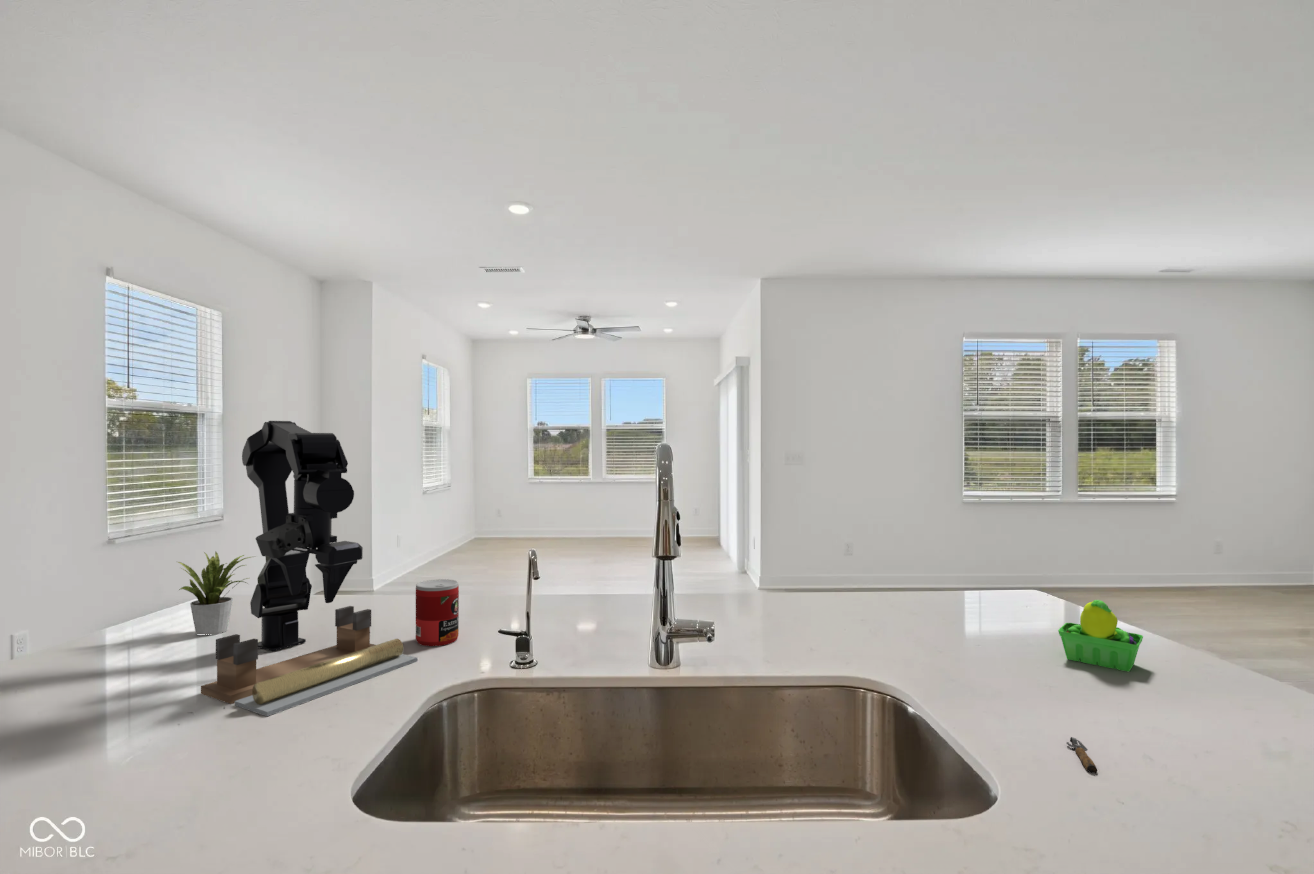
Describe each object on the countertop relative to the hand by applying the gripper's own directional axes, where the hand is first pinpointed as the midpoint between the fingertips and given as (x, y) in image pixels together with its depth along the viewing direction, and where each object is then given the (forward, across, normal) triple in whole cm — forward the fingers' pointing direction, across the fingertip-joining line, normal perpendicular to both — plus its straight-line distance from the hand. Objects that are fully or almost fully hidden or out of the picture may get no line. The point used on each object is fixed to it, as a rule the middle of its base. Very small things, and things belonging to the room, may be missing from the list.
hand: (311, 598), depth 110 cm
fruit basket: (+9, +118, +66) cm, 135 cm away
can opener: (+9, +112, +25) cm, 115 cm away
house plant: (+13, -35, +4) cm, 38 cm away
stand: (+12, +1, -2) cm, 12 cm away
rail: (+11, +10, -2) cm, 15 cm away
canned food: (+12, +8, +20) cm, 25 cm away
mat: (+11, +10, -2) cm, 15 cm away
